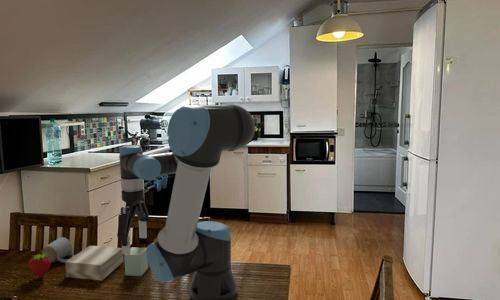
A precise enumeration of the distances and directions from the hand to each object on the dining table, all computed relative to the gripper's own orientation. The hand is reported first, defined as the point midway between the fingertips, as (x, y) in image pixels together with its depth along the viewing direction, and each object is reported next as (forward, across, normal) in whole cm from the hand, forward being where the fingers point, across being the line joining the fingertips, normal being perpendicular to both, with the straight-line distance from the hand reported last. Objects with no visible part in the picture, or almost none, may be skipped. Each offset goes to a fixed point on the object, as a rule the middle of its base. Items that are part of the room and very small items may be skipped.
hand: (135, 245), depth 124 cm
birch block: (+11, 0, -16) cm, 19 cm away
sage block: (+10, 0, 0) cm, 10 cm away
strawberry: (+10, +8, -32) cm, 34 cm away
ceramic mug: (+11, -5, -34) cm, 36 cm away
